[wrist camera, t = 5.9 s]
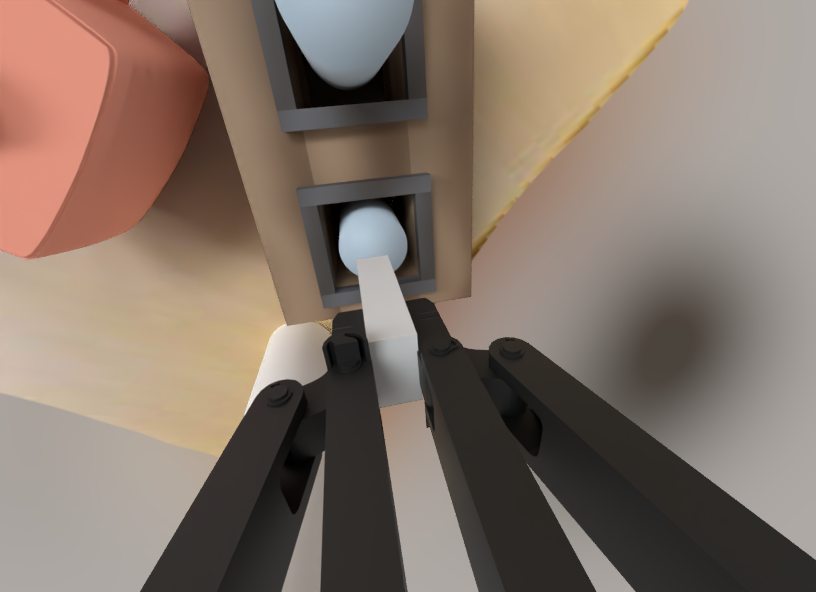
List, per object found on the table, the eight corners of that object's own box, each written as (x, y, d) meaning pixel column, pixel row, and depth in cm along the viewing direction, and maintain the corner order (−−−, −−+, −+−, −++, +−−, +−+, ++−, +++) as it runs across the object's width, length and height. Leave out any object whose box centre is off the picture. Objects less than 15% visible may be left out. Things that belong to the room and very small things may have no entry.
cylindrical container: (254, 352, 36) (121, 701, 14) (295, 308, 35) (213, 625, 13) (309, 382, 39) (266, 705, 18) (348, 343, 38) (355, 645, 16)
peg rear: (344, 240, 30) (345, 283, 22) (335, 190, 28) (332, 217, 20) (392, 234, 30) (409, 273, 23) (387, 184, 28) (404, 208, 20)
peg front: (311, 93, 19) (289, 72, 11) (292, -9, 17) (247, -125, 9) (388, 86, 19) (419, 62, 11) (379, -13, 17) (409, -127, 9)
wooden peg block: (301, 271, 33) (284, 333, 23) (225, -24, 22) (138, -132, 13) (438, 252, 34) (475, 302, 25) (427, -33, 24) (483, -135, 14)
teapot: (138, 266, 30) (-5, 368, 18) (-48, 177, 25) (-431, 232, 13) (259, 38, 24) (172, -47, 12) (49, -141, 19) (-491, -624, 7)
